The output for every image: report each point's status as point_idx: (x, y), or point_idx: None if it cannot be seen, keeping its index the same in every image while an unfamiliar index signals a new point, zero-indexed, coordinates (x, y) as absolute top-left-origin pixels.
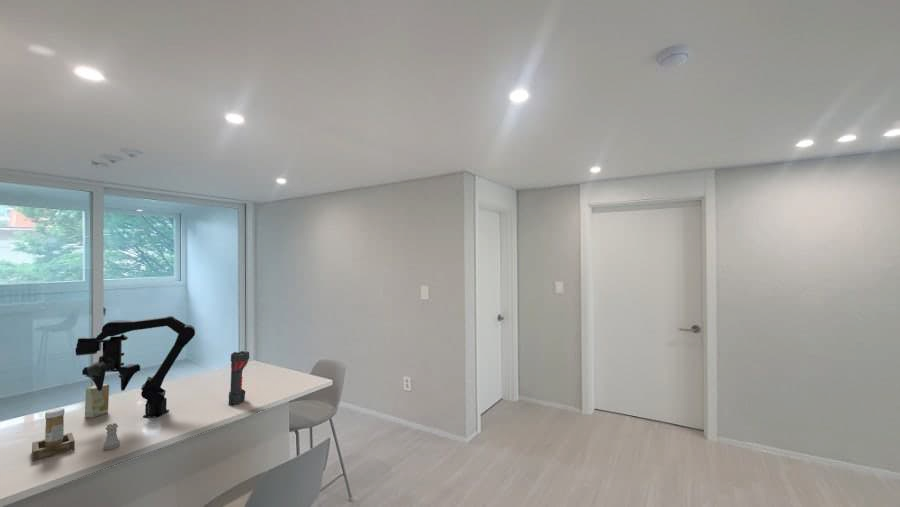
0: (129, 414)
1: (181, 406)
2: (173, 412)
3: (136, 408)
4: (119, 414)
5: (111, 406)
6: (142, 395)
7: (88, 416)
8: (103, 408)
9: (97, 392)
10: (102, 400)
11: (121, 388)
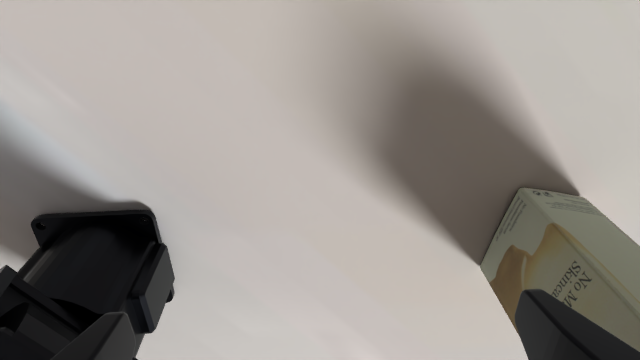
0: (303, 247)
1: None
2: None
3: (342, 321)
4: (375, 244)
5: None
6: (16, 326)
7: (555, 195)
8: (507, 269)
9: None
10: None
11: (91, 341)
